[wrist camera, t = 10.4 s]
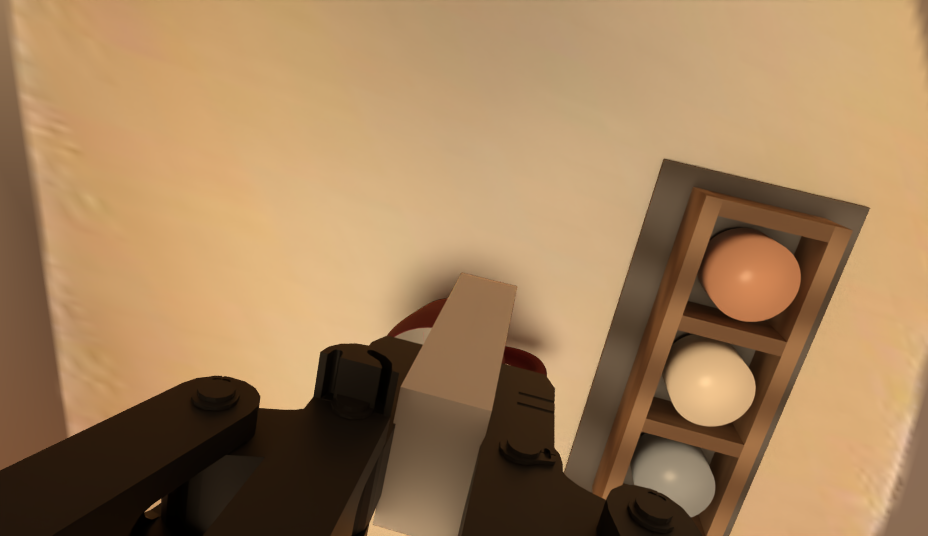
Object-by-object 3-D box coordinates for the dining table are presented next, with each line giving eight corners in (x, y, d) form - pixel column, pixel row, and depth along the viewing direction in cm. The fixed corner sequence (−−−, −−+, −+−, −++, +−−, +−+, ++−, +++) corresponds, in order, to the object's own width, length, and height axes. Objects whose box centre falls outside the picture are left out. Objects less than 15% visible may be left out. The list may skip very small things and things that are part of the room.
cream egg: (675, 324, 41) (684, 343, 38) (752, 344, 41) (768, 364, 38) (651, 391, 43) (659, 414, 40) (725, 411, 42) (738, 435, 39)
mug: (553, 284, 43) (552, 337, 33) (543, 388, 45) (540, 466, 35) (407, 270, 44) (366, 318, 34) (404, 372, 46) (365, 443, 37)
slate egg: (641, 419, 43) (648, 443, 40) (714, 439, 43) (726, 465, 40) (620, 479, 45) (625, 507, 42) (690, 499, 45) (700, 528, 41)
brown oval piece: (712, 219, 39) (725, 229, 36) (793, 239, 39) (814, 251, 36) (686, 293, 41) (696, 309, 37) (764, 313, 40) (781, 331, 37)
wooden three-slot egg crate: (663, 158, 39) (675, 165, 36) (867, 207, 38) (902, 219, 35) (558, 489, 47) (559, 523, 43) (726, 536, 46) (741, 576, 42)
